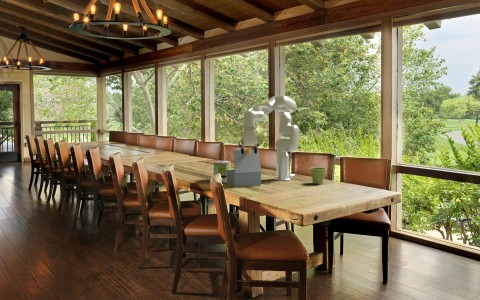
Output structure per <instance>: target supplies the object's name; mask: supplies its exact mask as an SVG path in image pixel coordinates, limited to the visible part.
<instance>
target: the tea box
mask: <svg viewBox="0 0 480 300" xmlns="http://www.w3.org/2000/svg"><path fill="white" fill-rule="evenodd" d="M231 165H232V162H231V161H230V160H216V161H214V162H213V174H212V175H215V174H217V173H220V174H221V177H222V182H221V183H227V170H232V169H231Z"/></svg>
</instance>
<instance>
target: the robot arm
mask: <svg viewBox="0 0 480 300" xmlns="http://www.w3.org/2000/svg"><path fill="white" fill-rule="evenodd" d="M297 108H298V106H297V103H296V101H294V100H293V99H292V98H290V97H289V96H286V95H273V96H272V97H270V98H269V99H267V100H266V101H265V102H263V103H259V104H258V105H254V106H253V107H250V108H249V109H248V110H245V111H244V112H243V130H242V133H241V139H240V140H238V141H237V142H236V143H237V145H238V147H239V148H240V150H241V154H244V150H245V148H244V147H245V146H253V147H254V148H253V150H254V153H255V154H257V150H258V147H259V146H260V145H261V143H262V141H261V140H259V139H257V132H256V130H257V127H256V126H255V124H256V122H262V121H263V120H265V115H268V114H270V113H272V112H274V110H276V111H277V113H278V115H279V119H280V120H279V128H278V130H279V131H278V134H279V136H280V137H284V138H278V139H277V140H276V141H275V150H276V151H275V152H276V167H275V168H276V171H275V173H276V176H275V177H274V178H273V179H274V180H275V181H290V180H291V177H295V174H294V173H290V155H289V152H293V153H294V152H296V151H297V150H298V148H299V139H300V128H299V126H298V125H296V124H292V117H291V114H290V113H295V112H296V111H297Z"/></svg>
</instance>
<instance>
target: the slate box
mask: <svg viewBox="0 0 480 300" xmlns="http://www.w3.org/2000/svg"><path fill="white" fill-rule="evenodd" d="M226 184H227V185H228V184H229V186H231V187H233V188H245V187H246V188H247V187H248V188H249V187H259V186H260V187H261V186H262V171H261V172H245V173H235V169H231V170H227V182H226Z"/></svg>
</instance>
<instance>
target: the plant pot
mask: <svg viewBox="0 0 480 300" xmlns="http://www.w3.org/2000/svg"><path fill="white" fill-rule="evenodd" d="M309 170H310V172H311V180H312V184H314V185H323V183H324V179H325V173H326V170H327V168H326V167H316V166H315V167H314V166H313V167H310V168H309Z"/></svg>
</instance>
